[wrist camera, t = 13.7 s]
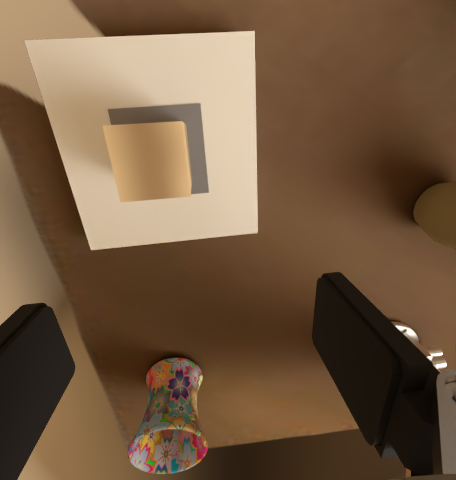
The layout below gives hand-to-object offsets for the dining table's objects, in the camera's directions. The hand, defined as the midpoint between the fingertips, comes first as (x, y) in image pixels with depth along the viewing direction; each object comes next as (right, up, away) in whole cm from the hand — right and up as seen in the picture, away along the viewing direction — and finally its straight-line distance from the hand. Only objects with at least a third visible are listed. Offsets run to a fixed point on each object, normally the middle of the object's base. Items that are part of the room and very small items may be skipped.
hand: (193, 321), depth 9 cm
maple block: (-5, +11, +14) cm, 19 cm away
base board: (-5, +12, +17) cm, 22 cm away
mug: (-7, -19, +31) cm, 37 cm away
